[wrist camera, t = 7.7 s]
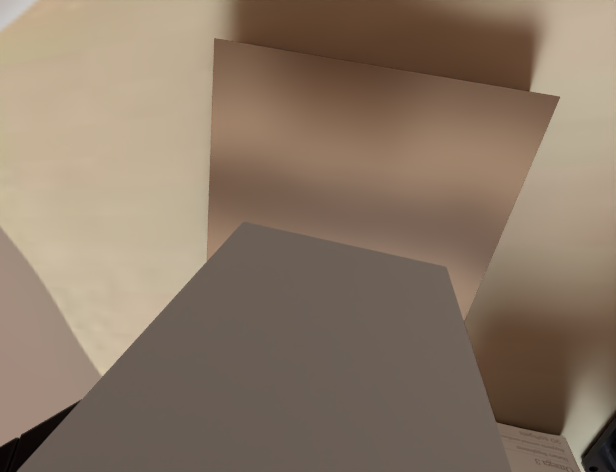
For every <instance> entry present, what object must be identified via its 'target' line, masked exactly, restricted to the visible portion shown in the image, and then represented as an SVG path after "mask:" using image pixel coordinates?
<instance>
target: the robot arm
mask: <svg viewBox="0 0 616 472" xmlns="http://www.w3.org/2000/svg"><path fill="white" fill-rule="evenodd" d="M81 400H82V399H81ZM81 400H79V401H78V402H76V403H74V404H73V405H71V406H69V407H68V408H66V409H64V410H62V411H61V412H59V413H57V414H56V415H54V416H52V417H50V418H49V419H47V420H45V421H44V422H42V423H40V424H39V425H37V426H35V427H34V428H32V429H30V430H28V431H27V432H25V433H23V434H22V435H21V437H20V439H19V438H15V439H13V440H11V441H9V442H8V443H6V444H4V445H3V446H1V447H0V472H17V471H18V470H19V468H20V467H21V466H22V465H23V464H24V463H25V462H26V461H27V460H28V458H29V457H30V456H31V455H32V454H33V453H34V452H35V451H36V450H37V449H38V447H39V446H40V445H41V444H42V443H43V442H44V441H45V440H46V439H47V438H48V436H49V435H50V434H51V433H52V432H53V431H54V430H55V429H56V428H57V427H58V425H59V424H60V423H61V422H62V421H63V420H64V419H65V418H66V417H67V415H68V414H69V413H70V412H71V411H72V410H73V409H74V408H75V407H76V406H77V404H78V403H79V402H80V401H81ZM581 464H582V466H583V468H584V470H585V471H586V472H616V417H615V418H614V420H613V421H612V422H611V424H610V425H609V426H608V428H607V429H606V430H605V432H604V433H603V434H602V435H601V437H600V438H599V439H598V441H597V442H596V443H595V445H594V446H593V447H592V448H591V450H590V451H589V452H588V454H587V455H586V456H585V458H584V459H583V460H582V462H581Z"/></svg>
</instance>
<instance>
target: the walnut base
mask: <svg viewBox="0 0 616 472" xmlns="http://www.w3.org/2000/svg"><path fill="white" fill-rule="evenodd" d="M559 99H560V97H559V96H553V95H547V94H541V93H535V92H529V91H523V90H517V89H511V88H506V87H500V86H494V85H488V84H482V83H476V82H470V81H464V80H458V79H452V78H446V77H441V76H435V75H429V74H423V73H417V72H411V71H405V70H399V69H393V68H387V67H381V66H376V65H370V64H364V63H358V62H352V61H346V60H340V59H334V58H328V57H322V56H317V55H311V54H305V53H299V52H293V51H287V50H281V49H275V48H269V47H263V46H257V45H252V44H246V43H240V42H234V41H228V40H222V39H216V38H214V67H213V96H212V124H211V153H210V182H209V210H208V239H207V261H208V260H209V259H210V258H211V257H212V256H213V254H214V253H215V252H216V251H217V250H218V249H219V248H220V247H221V246H222V244H223V243H224V242H225V241H226V240H227V239H228V238H229V237H230V236H231V235H232V233H233V232H234V231H235V230H236V229H237V228H238V227H239V226H240V225H241V224H242V222H243V221H244V222H248V223H253V224H257V225H262V226H266V227H271V228H275V229H280V230H284V231H288V232H293V233H297V234H302V235H306V236H311V237H315V238H320V239H324V240H329V241H333V242H338V243H342V244H347V245H351V246H356V247H360V248H365V249H369V250H374V251H378V252H383V253H387V254H391V255H396V256H400V257H405V258H409V259H414V260H418V261H423V262H427V263H432V264H436V265H441V266H445V267H447V270H448V273H449V276H450V279H451V283H452V286H453V289H454V292H455V295H456V298H457V301H458V305H459V308H460V311H461V314H462V317H463V320H464V321H465V319H466V316H467V314H468V312H469V309H470V307H471V305H472V302H473V300H474V298H475V295H476V293H477V291H478V288H479V286H480V283H481V281H482V279H483V276H484V274H485V272H486V269H487V267H488V265H489V262H490V260H491V258H492V255H493V253H494V251H495V248H496V246H497V244H498V241H499V239H500V237H501V234H502V232H503V230H504V227H505V225H506V223H507V220H508V218H509V216H510V213H511V211H512V209H513V206H514V204H515V202H516V199H517V197H518V195H519V192H520V190H521V188H522V185H523V183H524V181H525V178H526V176H527V174H528V171H529V169H530V167H531V164H532V162H533V160H534V157H535V155H536V153H537V150H538V148H539V146H540V143H541V141H542V139H543V136H544V134H545V132H546V129H547V127H548V124H549V122H550V120H551V117H552V115H553V113H554V110H555V108H556V106H557V103H558V101H559Z"/></svg>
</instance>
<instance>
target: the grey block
mask: <svg viewBox="0 0 616 472" xmlns="http://www.w3.org/2000/svg"><path fill="white" fill-rule="evenodd" d="M17 472H512V471H511V468H510V465H509V462H508V459H507V455H506V452H505V449H504V446H503V443H502V440H501V437H500V433H499V430H498V427H497V424H496V421H495V418H494V415H493V411H492V408H491V405H490V402H489V399H488V396H487V393H486V389H485V386H484V383H483V380H482V377H481V374H480V371H479V367H478V364H477V361H476V358H475V355H474V352H473V349H472V345H471V342H470V339H469V336H468V333H467V330H466V327H465V323H464V320H463V317H462V314H461V311H460V308H459V305H458V301H457V298H456V295H455V292H454V289H453V286H452V283H451V279H450V276H449V273H448V270H447V267H445V266H441V265H436V264H432V263H427V262H423V261H418V260H414V259H409V258H405V257H400V256H396V255H391V254H387V253H383V252H378V251H374V250H369V249H365V248H360V247H356V246H351V245H347V244H342V243H338V242H333V241H329V240H324V239H320V238H315V237H311V236H306V235H302V234H297V233H293V232H288V231H284V230H280V229H275V228H271V227H266V226H262V225H257V224H253V223H248V222H244V221H243V222H242V224H241V225H240V226H239V227H238V228H237V229H236V230H235V231H234V232H233V233H232V235H231V236H230V237H229V238H228V239H227V240H226V241H225V242H224V243H223V244H222V246H221V247H220V248H219V249H218V250H217V251H216V252H215V253H214V254H213V256H212V257H211V258H210V259H209V260H208V261H207V262H206V263H205V264H204V265H203V267H202V268H201V269H200V270H199V271H198V272H197V273H196V274H195V275H194V276H193V278H192V279H191V280H190V281H189V282H188V283H187V284H186V285H185V286H184V288H183V289H182V290H181V291H180V292H179V293H178V294H177V295H176V296H175V297H174V299H173V300H172V301H171V302H170V303H169V304H168V305H167V306H166V307H165V308H164V310H163V311H162V312H161V313H160V314H159V315H158V316H157V317H156V318H155V320H154V321H153V322H152V323H151V324H150V325H149V326H148V327H147V328H146V329H145V331H144V332H143V333H142V334H141V335H140V336H139V337H138V338H137V339H136V340H135V342H134V343H133V344H132V345H131V346H130V347H129V348H128V349H127V350H126V351H125V353H124V354H123V355H122V356H121V357H120V358H119V359H118V360H117V361H116V363H115V364H114V365H113V366H112V367H111V368H110V369H109V370H108V371H107V372H106V374H105V375H104V376H103V377H102V378H101V379H100V380H99V381H98V382H97V384H96V385H95V386H94V387H93V388H92V389H91V390H90V391H89V392H88V394H87V395H86V396H85V397H84V398H83V399H82V400H81V401H80V402H79V403H78V404H77V406H76V407H75V408H74V409H73V410H72V411H71V412H70V413H69V414H68V415H67V417H66V418H65V419H64V420H63V421H62V422H61V423H60V424H59V425H58V427H57V428H56V429H55V430H54V431H53V432H52V433H51V434H50V435H49V436H48V438H47V439H46V440H45V441H44V442H43V443H42V444H41V445H40V446H39V447H38V449H37V450H36V451H35V452H34V453H33V454H32V455H31V456H30V457H29V458H28V460H27V461H26V462H25V463H24V464H23V465H22V466H21V467H20V468H19V470H18V471H17Z"/></svg>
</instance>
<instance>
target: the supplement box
mask: <svg viewBox="0 0 616 472" xmlns="http://www.w3.org/2000/svg"><path fill="white" fill-rule="evenodd" d="M496 424H497V427H498V430H499V433H500V437H501V440H502V443H503V446H504V449H505V452H506V455H507V459H508V462H509V465H510V468H511V471H512V472H581V471H580V469H579V467H578V465H577V463H576V461H575V458H574V456H573V454H572V452H571V449H570V447H569V445H568V443H567V441H566V438H565V437H563V436H558V435H552V434H546V433H541V432H536V431H532V430H527V429H522V428H518V427H513V426H509V425H505V424H501V423H497V422H496Z"/></svg>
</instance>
